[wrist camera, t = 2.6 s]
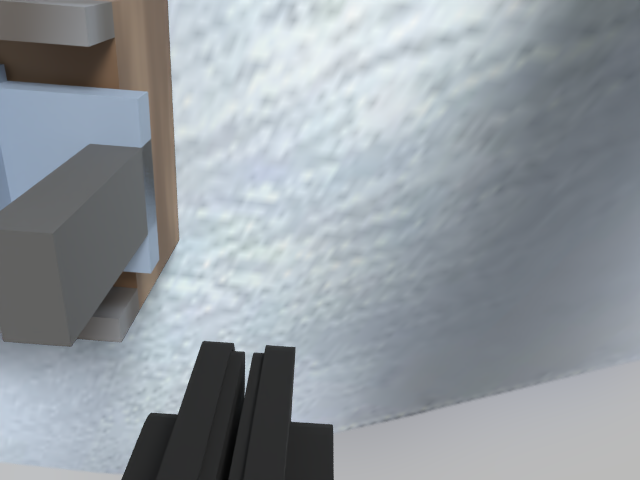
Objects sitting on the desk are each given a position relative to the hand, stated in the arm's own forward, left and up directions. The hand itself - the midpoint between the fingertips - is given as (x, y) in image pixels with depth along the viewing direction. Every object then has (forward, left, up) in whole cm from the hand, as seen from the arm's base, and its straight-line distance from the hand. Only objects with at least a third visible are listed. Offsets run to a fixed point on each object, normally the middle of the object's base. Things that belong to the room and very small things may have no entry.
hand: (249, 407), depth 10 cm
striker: (+8, 0, -10) cm, 12 cm away
